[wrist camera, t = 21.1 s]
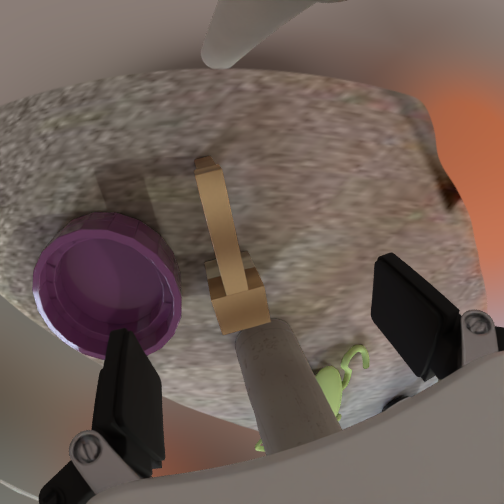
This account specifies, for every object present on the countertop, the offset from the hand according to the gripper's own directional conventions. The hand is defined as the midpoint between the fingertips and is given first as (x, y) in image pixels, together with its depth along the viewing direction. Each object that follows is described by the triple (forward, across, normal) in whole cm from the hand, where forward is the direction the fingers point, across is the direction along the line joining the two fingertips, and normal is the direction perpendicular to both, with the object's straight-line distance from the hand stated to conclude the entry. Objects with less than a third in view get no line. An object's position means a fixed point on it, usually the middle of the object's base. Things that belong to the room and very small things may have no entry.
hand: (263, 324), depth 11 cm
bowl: (+20, +13, +7) cm, 25 cm away
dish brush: (+20, 0, +5) cm, 21 cm away
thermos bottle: (+20, -2, +22) cm, 30 cm away
